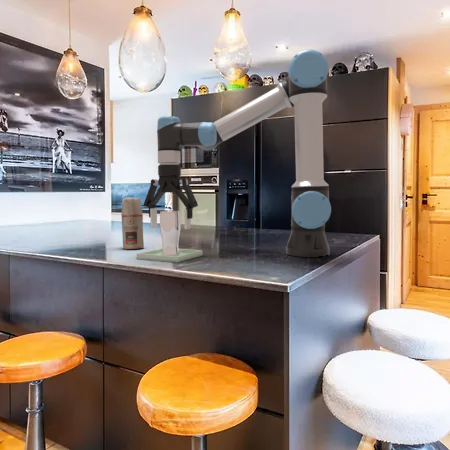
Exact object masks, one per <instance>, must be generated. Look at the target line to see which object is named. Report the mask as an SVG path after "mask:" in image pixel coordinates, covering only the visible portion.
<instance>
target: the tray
mask: <svg viewBox="0 0 450 450" xmlns="http://www.w3.org/2000/svg"><path fill="white" fill-rule="evenodd" d="M162 249H163V247H161V248H156V249H151V250H148V251H142V252H138V253H136V260H144V261H153V262H166V263H176V264H178V263H181V261H182V262H184V261H188V260H193V259H195V258H198V257H203V254H204V253H203V250H201V249H190V248H189V249H186V248H179V253H180V255H179V256H165V255H162Z"/></svg>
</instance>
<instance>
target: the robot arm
mask: <svg viewBox="0 0 450 450" xmlns="http://www.w3.org/2000/svg"><path fill="white" fill-rule="evenodd" d="M329 71H330V70H329V62H328V59H327V58H326V57H325V55H324V54H323V53H321V52H320V51H319V50H316V49H305V50H301V51H299V52H297V53H296V54H295V55H294V56H293V57H292V58H291V60H290V62H289V65H288V68H287V74H288V75H287V76H286V77H285V78H284V79H282V80H280V81H279V82H277V86H276V87H274V88H273V89H271V90H269V91H268V92H265V93H263V94H262V95H260V96H258V97H257V98H255V99H253V100H251V101H249V102H247V103H246V104H243V105H242V106H241V107H239V108H237V109H235V110H233V111H232V112H229V113H228V114H226V115H224V116H223V117H221V118H219V119H217V120H215V121H214V122H213V121H212V122H209V121H208V122H206V121H203V122H202V121H201V122H181V119H180V118H179V116H178V117H177V116H169V115H166V116H165V115H164V116H160V117H159V118H158V119H157V130H156V134H157V164H159V165H158V166H157V175H158V179H154V178H152V179H150V186H149V188H148V192H147V193H146V197H145V199H144V202H143V206H144V207H147V208H148V217H149V219H150V228H151V229H152V228H157V227H158V208H157V207H156V206H157V205H158V203H159V202H160V201H161V199H162V197H163V195H164V194H166V193H174V194H175V195H176V196H177V197H178V199H179V200H180V201H181V203H182V204H183V205H184V207H185V208H184V209H183V212H184V213H183V217H184V220H183V222H184V225H183V227H184V230H189V229H192V226H191V225H192V224H191V221H192V220H191V219H193V217H194V216H193V210H194V208H196V207H198V206H199V204H198V201H197V199H196V197H195V195H194V193H193V190H192V188H191V185H190V179H189V178H182V179H181V175H182V174H181V173H182V171H181V169H182V167H181V165H180V164H181V163H182V162H181V147H198V148H199V149H200V150H203V151H205V152H206V151H207V152H210V151H213V150H214V149H215V148H217V146H218V145H220V144H222V143H223V142H225V141H227V140H229V139H230V138H232V137H234V136H237V134H239V133H241V132H243V131H245V130H247V129H249V128H250V127H253V126H254V125H257V124H259V122H262V121H264V120H265V119H267V118H269V117H271V116H273V115H274V114H278V112H280V111H282V110H284V109H286V108H289V109H292V108H294V109H293V110H294V112H293V113H294V143H295V144H294V146H295V147H294V148H295V150H294V151H295V182H294V183H293V184H292V185H291V196H290V201H291V217H290V218H291V219H290V223H291V224H290V229H291V230H290V235H289V237H288V241H287V244H286V247H285V254H286V255H288V256H291V257H292V256H293V257H298V258H299V257H301V258H320V257H319V256H323V257H327V256H326V255H328V256H330V246H329V243H328V239H327V236H326V229H325V228H326V223H327V221H329V219H330V217H331V213H332V205H331V202H330V187H329V186H330V185H329V183H327V182H326V180H325V179H324V176H325V175H324V174H325V173H324V170H325V169H324V126H323V124H324V122H323V120H324V119H323V117H324V116H323V102H324V101H325V100H326V99H327V98H328V75H329ZM158 186H159V187H158ZM181 186H182V188H181Z"/></svg>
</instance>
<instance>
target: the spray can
mask: <svg viewBox="0 0 450 450" xmlns="http://www.w3.org/2000/svg"><path fill="white" fill-rule="evenodd" d="M143 214H144V213H143V205H142V200H141V198H140V197H124V198H122V200H121V233H122V245H123V248H122V249H123V250H137V249H143V248H144V247H145V246H144V226H143V225H144V220H143V219H144V217H143V216H144V215H143Z"/></svg>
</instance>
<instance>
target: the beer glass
mask: <svg viewBox="0 0 450 450" xmlns="http://www.w3.org/2000/svg"><path fill="white" fill-rule="evenodd" d="M181 225H182V222H181V211H180V210H163V211H162V210H161V211H160V212H159V228H160V235H161V242H162V248H163V249H162V255H165V256H179V255H180V253H179V249H180V247H179V242H180V241H179V240H180V236H181V235H180V233H181V227H182V226H181Z"/></svg>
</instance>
